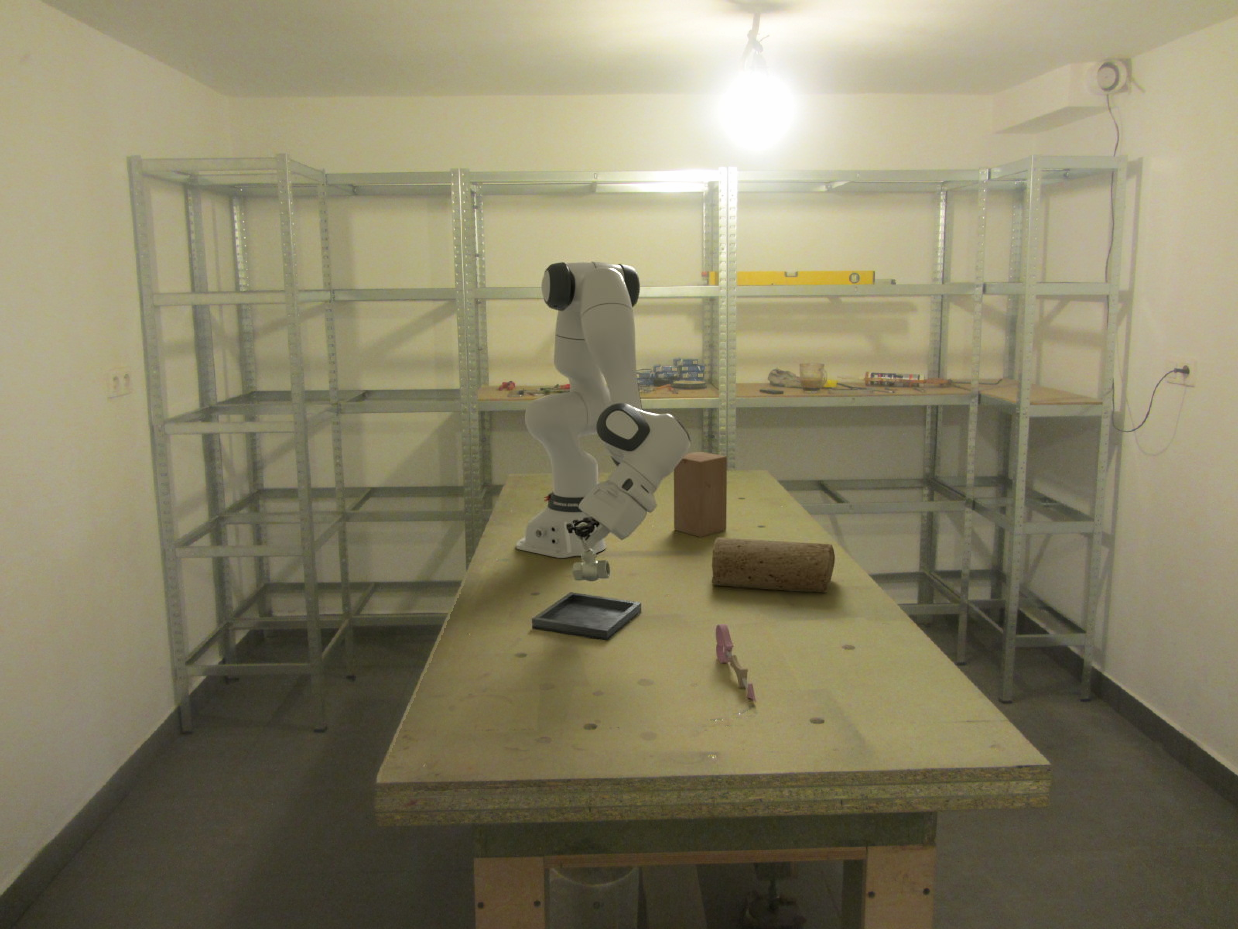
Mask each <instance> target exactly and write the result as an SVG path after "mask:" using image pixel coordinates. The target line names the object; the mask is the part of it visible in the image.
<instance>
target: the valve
mask: <svg viewBox="0 0 1238 929" xmlns="http://www.w3.org/2000/svg"><path fill="white" fill-rule="evenodd" d="M587 523H589V525H587ZM577 525H578V526H579V527H576V526H577ZM594 525H596V527H598V526H599V525H600V524H599V522H597V521H596V520H595V519H593V518H592V519H591V520H589V518H588V517H585V518H583V520H580V521H578V520H573V524H571V523H569V524H566V528H567V530H568V533H573V530H574V531H575V534H576V535H577V536H580V537H583V540H582V541H581V543H582V547H583V549H584V550H583V553H581V555H580V558H581V560H582V561H583V562H581V561H580V562H574V563H573V564H572V565H573V566H572V576H573V579H574V581H577V582H579V581H580V582H581V581H587V582H596V581H598V580H599V579H603V580H604V579H610V576H611V567H610V561H608V560H607V559H603V560H602V559H601V560H596V559H597V553H596V552H595V551H593V550H592V549H591V548H590V547H589V546H588V545H587V544H586V543H585V542H584V540H585V539H586V538H587V536H588V535H590V533H592V532H593V531H594V530H595V526H594Z"/></svg>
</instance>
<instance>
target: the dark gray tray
mask: <svg viewBox="0 0 1238 929" xmlns="http://www.w3.org/2000/svg"><path fill="white" fill-rule="evenodd" d="M640 613H642V602H641V601H640V602H639V601H635V600H633V601H632V600H627V599H619V598H613V597H606V596H599V595H592V594H585V593H579V592H573V591H570V592H568V593H567V594H566V595H565V596H562V597H561V598H560V599H558V600H557V601H556V602H553V604H552V605H550V606H548V607H547V608H545V609H544V610H542V611H541V612H540V613H538V614H537V615H535V616H534V617H532V618H531V628H532V629H533V630H538V631H543V632H544V631H546V632H550V633H555V634H556V633H558V634H562V635H569V636H575V637H581V638H588V639H592V640H598V641H605V642H608V641H610V639H612V638H613V637H614V636H615V635H616V634H618V633H619V632H620V631H621V630H622V629H624V627H626V626H627V624H629V623H630V622H631V621H633V620H634V619H635V618H636V617H637V616H638V615H639V614H640Z"/></svg>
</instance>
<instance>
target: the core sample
mask: <svg viewBox="0 0 1238 929" xmlns="http://www.w3.org/2000/svg"><path fill="white" fill-rule="evenodd" d="M712 548H713V550H712V559H711V568H712V570H711V571H712V579H711V584H712V586H722V587H723V586H724V587H734V588H735V587H736V588H748V589H759V590H760V589H761V590H772V591H773V590H776V591H791V592H792V591H793V592H810V593H811V592H813V593H827V592H828V589H829V586H830V585H831V584H830V583H831V580H832V576H833V572H834V569H835V568H834V567H835V562H836V561H835V560H836V555H835V549H834V547H833V544H831V543H813V542H798V541H797V542H796V541H783V540H782V541H781V540H765V539H750V538H749V539H748V538H736V537H735V538H732V537H731V538H729V537H717V538H715V540H714V542H713V547H712Z"/></svg>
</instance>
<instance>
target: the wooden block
mask: <svg viewBox="0 0 1238 929" xmlns="http://www.w3.org/2000/svg"><path fill="white" fill-rule="evenodd" d="M727 461H728V458H727V456H726V455H723V454H722V455H721V454H715V453H710V452H705V451H696V452H690V453H686V454H685V455H684V457H683V458H682V460H681V461H680V462H679V464H678V465H677V466H676V467H675V469H674V470H673V529H674V530H675V531H677V532H680V533H684V534H688V535H691V536H695V537H699V538H703V537H705V536H710V535H713V534H716V533H720V532H723V531H727V506H728V505H727V501H728V500H727V493H728V492H727V491H728V490H727V487H728V486H727V484H728V483H727V482H728V481H727V478H728V477H727V475H728V470H727V469H728V467H727V466H728V465H727V464H728V462H727Z"/></svg>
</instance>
